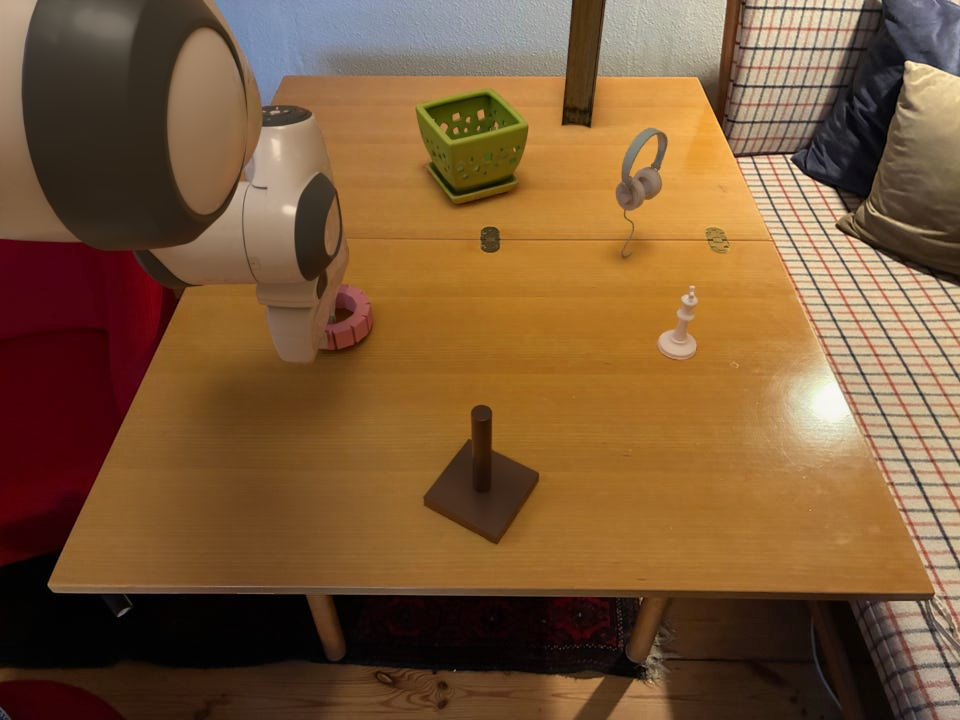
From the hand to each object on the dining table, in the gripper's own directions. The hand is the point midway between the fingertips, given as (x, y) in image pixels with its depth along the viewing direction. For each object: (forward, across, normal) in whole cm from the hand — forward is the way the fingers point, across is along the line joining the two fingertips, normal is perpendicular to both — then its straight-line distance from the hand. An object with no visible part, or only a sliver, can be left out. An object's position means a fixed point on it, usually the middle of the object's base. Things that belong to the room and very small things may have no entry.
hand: (325, 335), depth 88 cm
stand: (+3, +20, +22) cm, 29 cm away
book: (+2, -69, +33) cm, 77 cm away
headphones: (+3, -23, +40) cm, 46 cm away
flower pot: (+2, -40, +15) cm, 43 cm away
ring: (+2, -4, 0) cm, 4 cm away
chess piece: (+3, -4, +45) cm, 45 cm away
